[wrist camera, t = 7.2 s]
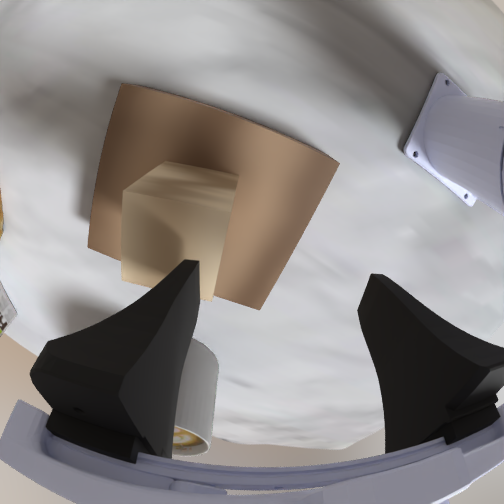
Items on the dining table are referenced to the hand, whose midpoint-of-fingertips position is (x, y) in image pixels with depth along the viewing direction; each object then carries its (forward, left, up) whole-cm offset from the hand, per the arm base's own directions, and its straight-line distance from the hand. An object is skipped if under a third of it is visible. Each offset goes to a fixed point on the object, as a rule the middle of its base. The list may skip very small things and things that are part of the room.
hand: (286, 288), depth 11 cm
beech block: (+5, +1, -7) cm, 9 cm away
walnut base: (+5, +1, -10) cm, 11 cm away
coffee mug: (+4, +21, -10) cm, 24 cm away
